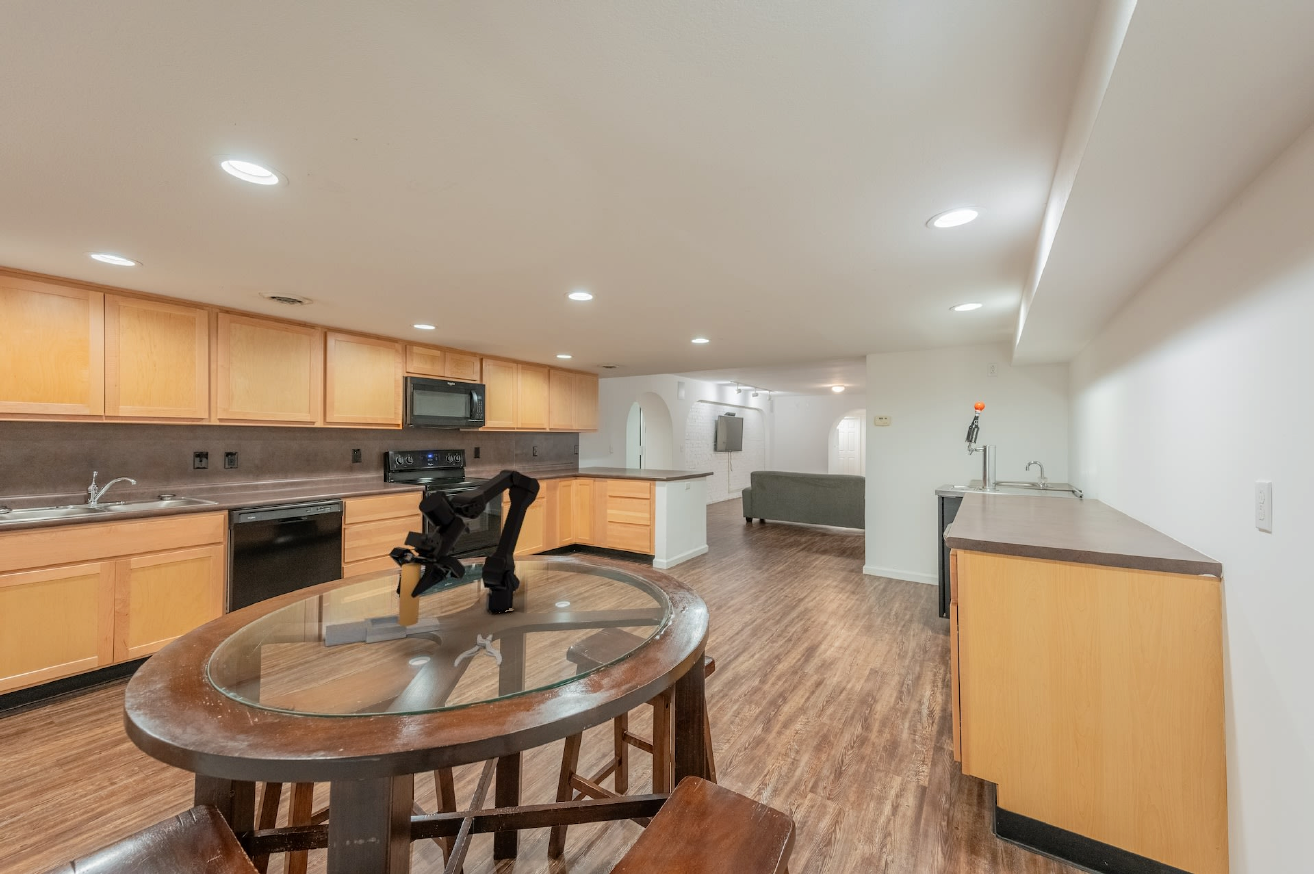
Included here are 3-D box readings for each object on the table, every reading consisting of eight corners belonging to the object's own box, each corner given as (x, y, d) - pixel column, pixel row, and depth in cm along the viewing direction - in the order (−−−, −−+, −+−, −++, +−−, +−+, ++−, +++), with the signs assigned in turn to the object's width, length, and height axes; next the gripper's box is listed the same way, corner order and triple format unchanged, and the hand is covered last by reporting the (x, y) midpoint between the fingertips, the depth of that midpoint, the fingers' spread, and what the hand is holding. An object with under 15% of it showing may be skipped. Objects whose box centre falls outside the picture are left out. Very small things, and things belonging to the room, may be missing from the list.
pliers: (453, 661, 111) (464, 634, 125) (453, 669, 111) (463, 641, 125) (501, 660, 113) (506, 633, 127) (500, 667, 113) (505, 640, 127)
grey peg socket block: (434, 621, 136) (435, 609, 136) (441, 632, 129) (441, 620, 129) (325, 635, 122) (325, 623, 122) (325, 649, 115) (326, 636, 115)
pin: (417, 618, 119) (420, 562, 119) (418, 624, 116) (422, 567, 115) (397, 620, 117) (401, 563, 117) (399, 626, 114) (402, 568, 113)
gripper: (397, 513, 123) (353, 569, 113) (459, 522, 116) (418, 583, 106) (421, 540, 131) (382, 595, 120) (480, 550, 124) (444, 609, 114)
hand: (405, 595), depth 115 cm, fingers closed on pin, 4 cm apart
